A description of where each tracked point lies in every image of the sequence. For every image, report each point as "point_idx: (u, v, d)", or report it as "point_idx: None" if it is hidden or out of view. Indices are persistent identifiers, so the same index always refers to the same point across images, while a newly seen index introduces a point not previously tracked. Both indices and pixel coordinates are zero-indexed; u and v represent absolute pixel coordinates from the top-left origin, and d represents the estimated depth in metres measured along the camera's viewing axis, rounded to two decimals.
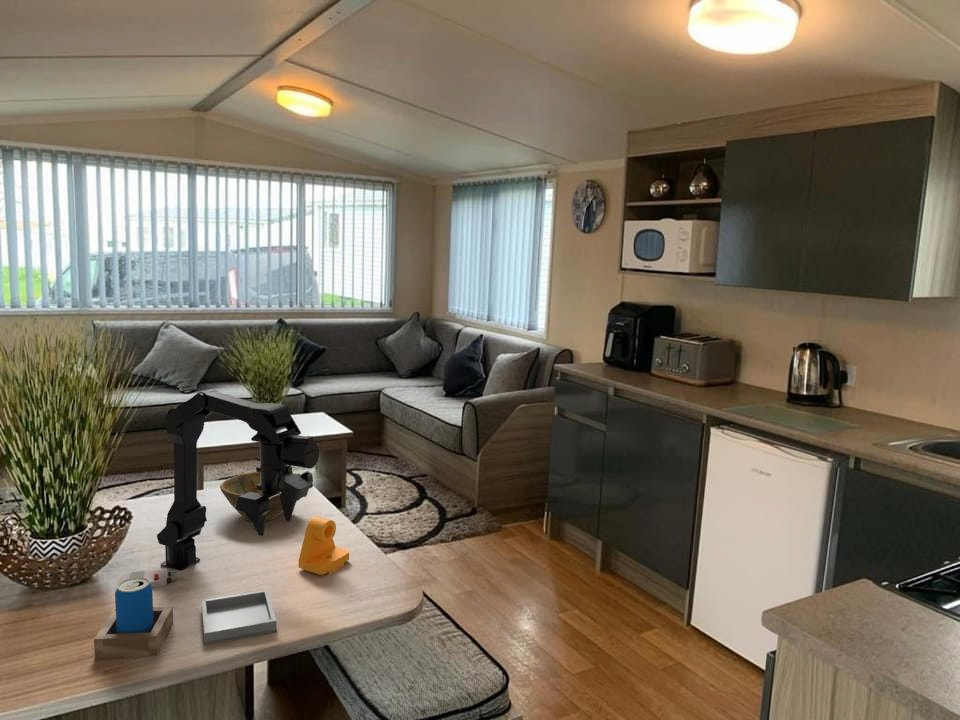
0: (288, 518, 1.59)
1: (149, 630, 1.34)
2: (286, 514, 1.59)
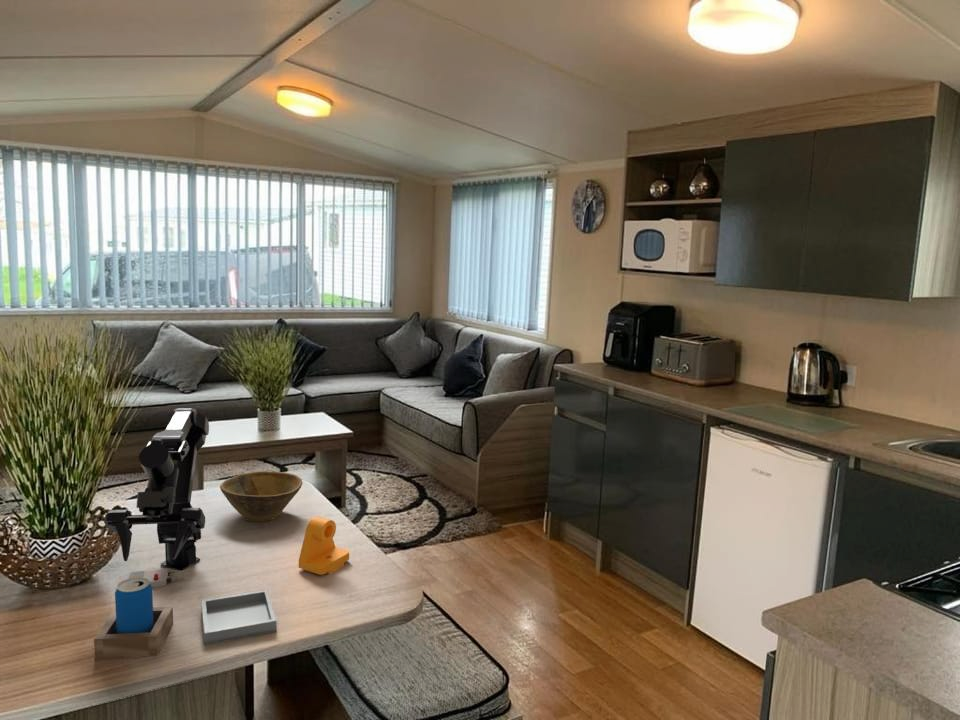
0: (172, 554, 1.42)
1: (149, 630, 1.34)
2: None
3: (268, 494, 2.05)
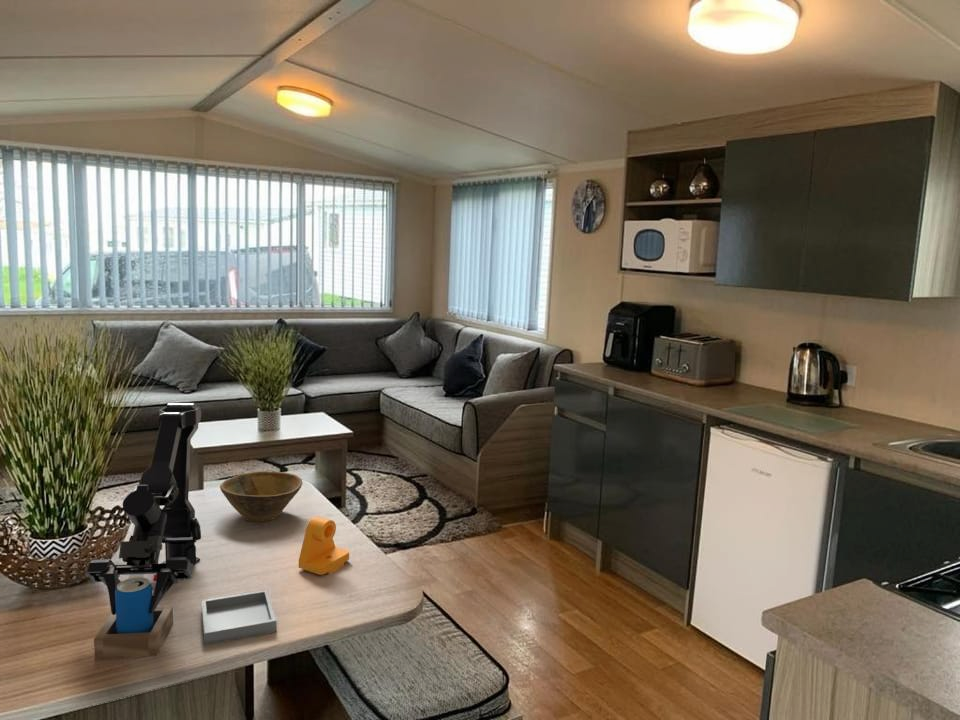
0: None
1: (149, 630, 1.34)
2: None
3: (268, 494, 2.05)
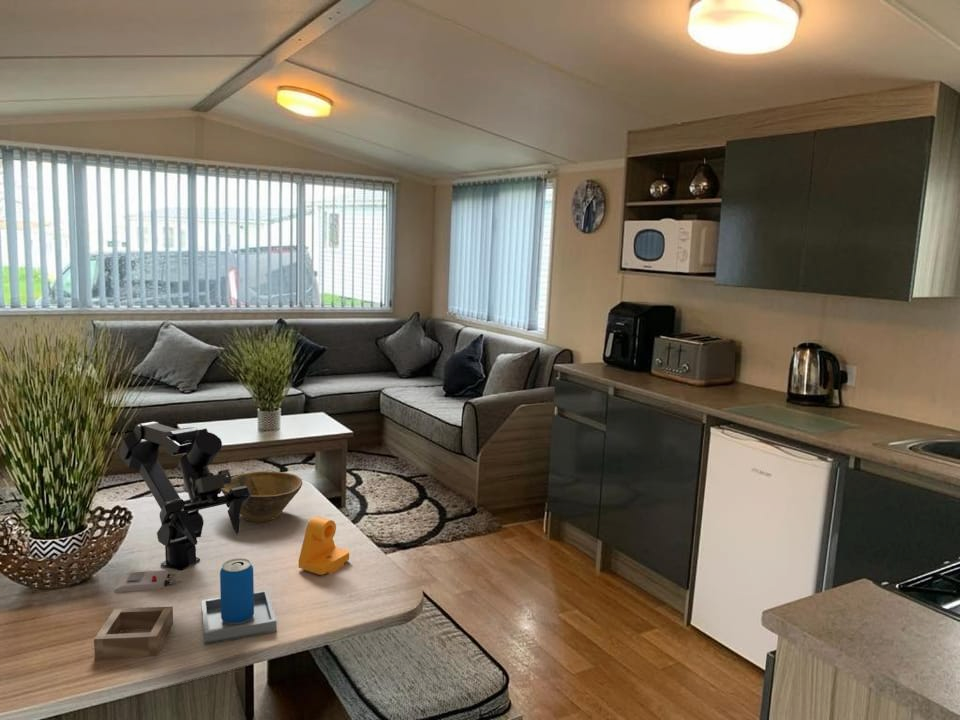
0: (236, 529, 1.54)
1: (253, 603, 1.44)
2: (234, 527, 1.55)
3: (268, 494, 2.05)
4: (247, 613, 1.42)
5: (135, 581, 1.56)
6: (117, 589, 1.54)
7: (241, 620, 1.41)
